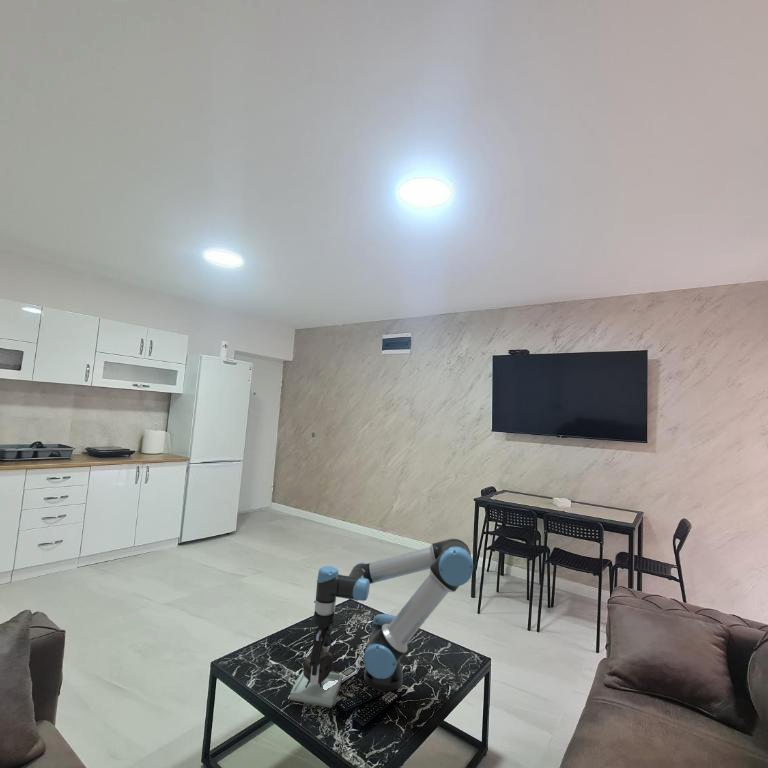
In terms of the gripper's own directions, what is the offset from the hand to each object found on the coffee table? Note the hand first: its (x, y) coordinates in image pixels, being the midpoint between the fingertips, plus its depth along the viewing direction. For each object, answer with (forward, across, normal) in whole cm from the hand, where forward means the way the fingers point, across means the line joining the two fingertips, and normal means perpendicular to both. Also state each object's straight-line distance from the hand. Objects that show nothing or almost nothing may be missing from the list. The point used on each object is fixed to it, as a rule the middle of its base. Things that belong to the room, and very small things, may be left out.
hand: (318, 673), depth 152 cm
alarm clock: (+4, 0, 0) cm, 4 cm away
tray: (+6, 0, 0) cm, 6 cm away
